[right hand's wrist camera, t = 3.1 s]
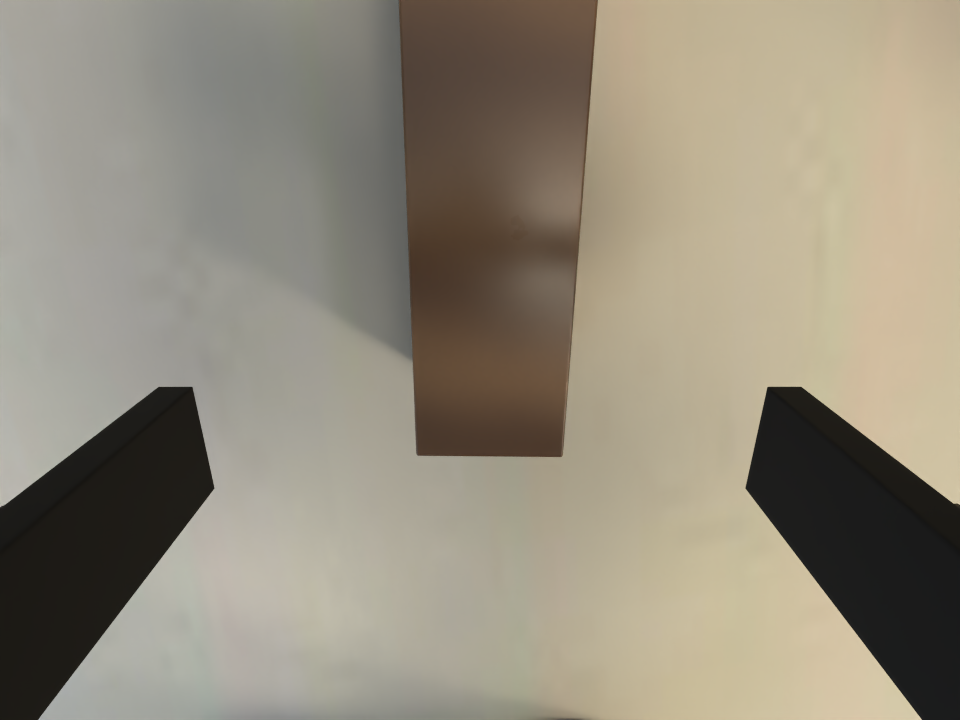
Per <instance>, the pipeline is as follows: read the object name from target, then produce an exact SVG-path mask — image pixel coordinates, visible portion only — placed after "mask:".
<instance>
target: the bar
mask: <svg viewBox="0 0 960 720" xmlns="http://www.w3.org/2000/svg"><path fill="white" fill-rule="evenodd" d="M597 4H598V0H399V19H400V45H401V70H402V96H403V122H404V148H405V173H406V199H407V225H408V250H409V276H410V302H411V328H412V353H413V379H414V405H415V431H416V454H417V455H418V456H519V457H562V455H563V446H564V433H565V420H566V407H567V394H568V381H569V368H570V355H571V342H572V329H573V316H574V303H575V290H576V277H577V264H578V251H579V238H580V225H581V212H582V199H583V186H584V173H585V160H586V147H587V134H588V121H589V108H590V95H591V82H592V69H593V56H594V43H595V30H596V17H597Z"/></svg>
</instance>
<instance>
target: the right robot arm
mask: <svg viewBox="0 0 960 720" xmlns="http://www.w3.org/2000/svg"><path fill="white" fill-rule="evenodd" d="M213 490H214V484H213V479H212V475H211V470H210V466H209V461H208V456H207V452H206V447H205V443H204V438H203V433H202V429H201V424H200V420H199V415H198V410H197V406H196V401H195V397H194V392H193V387H158V388H157V389H155V390H154V391H153V392H152V393H150V394H149V395H148V396H146V397H145V398H144V399H142V400H141V401H140V402H139V403H137V404H136V405H135V406H133V407H132V408H131V409H129V410H128V411H127V412H126V413H124V414H123V415H122V416H120V417H119V418H118V419H116V420H115V421H114V422H112V423H111V424H110V425H109V426H107V427H106V428H105V429H103V430H102V431H101V432H99V433H98V434H97V435H96V436H94V437H93V438H92V439H90V440H89V441H88V442H86V443H85V444H84V445H83V446H81V447H80V448H79V449H77V450H76V451H75V452H73V453H72V454H71V455H70V456H68V457H67V458H66V459H64V460H63V461H62V462H60V463H59V464H58V465H56V466H55V467H54V468H53V469H51V470H50V471H49V472H47V473H46V474H45V475H43V476H42V477H41V478H40V479H38V480H37V481H36V482H34V483H33V484H32V485H30V486H29V487H28V488H27V489H25V490H24V491H23V492H21V493H20V494H19V495H17V496H16V497H15V498H13V499H12V500H11V501H10V502H8V503H7V504H6V505H4V506H2V507H0V720H38V719H39V718H40V716H41V715H42V714H43V712H44V711H45V710H46V708H47V707H48V706H49V704H50V703H51V702H52V701H53V699H54V698H55V697H56V695H57V694H58V693H59V691H60V690H61V689H62V687H63V686H64V685H65V683H66V682H67V681H68V680H69V678H70V677H71V676H72V674H73V673H74V672H75V670H76V669H77V668H78V666H79V665H80V664H81V663H82V661H83V660H84V659H85V657H86V656H87V655H88V653H89V652H90V651H91V649H92V648H93V647H94V645H95V644H96V643H97V642H98V640H99V639H100V638H101V636H102V635H103V634H104V632H105V631H106V630H107V628H108V627H109V626H110V625H111V623H112V622H113V621H114V619H115V618H116V617H117V615H118V614H119V613H120V611H121V610H122V609H123V607H124V606H125V605H126V604H127V602H128V601H129V600H130V598H131V597H132V596H133V594H134V593H135V592H136V590H137V589H138V588H139V587H140V585H141V584H142V583H143V581H144V580H145V579H146V577H147V576H148V575H149V573H150V572H151V571H152V569H153V568H154V567H155V566H156V564H157V563H158V562H159V560H160V559H161V558H162V556H163V555H164V554H165V552H166V551H167V550H168V549H169V547H170V546H171V545H172V543H173V542H174V541H175V539H176V538H177V537H178V535H179V534H180V533H181V531H182V530H183V529H184V528H185V526H186V525H187V524H188V522H189V521H190V520H191V518H192V517H193V516H194V514H195V513H196V512H197V511H198V509H199V508H200V507H201V505H202V504H203V503H204V501H205V500H206V499H207V497H208V496H209V495H210V493H211V492H212V491H213ZM746 490H747V491H748V492H749V493H750V495H751V496H752V497H753V499H754V500H755V501H756V503H757V504H758V505H759V507H760V508H761V509H762V511H763V512H764V513H765V514H766V516H767V517H768V518H769V520H770V521H771V522H772V524H773V525H774V526H775V528H776V529H777V530H778V531H779V533H780V534H781V535H782V537H783V538H784V539H785V541H786V542H787V543H788V545H789V546H790V547H791V549H792V550H793V551H794V552H795V554H796V555H797V556H798V558H799V559H800V560H801V562H802V563H803V564H804V566H805V567H806V568H807V569H808V571H809V572H810V573H811V575H812V576H813V577H814V579H815V580H816V581H817V583H818V584H819V585H820V587H821V588H822V589H823V590H824V592H825V593H826V594H827V596H828V597H829V598H830V600H831V601H832V602H833V604H834V605H835V606H836V607H837V609H838V610H839V611H840V613H841V614H842V615H843V617H844V618H845V619H846V621H847V622H848V623H849V625H850V626H851V627H852V628H853V630H854V631H855V632H856V634H857V635H858V636H859V638H860V639H861V640H862V642H863V643H864V644H865V645H866V647H867V648H868V649H869V651H870V652H871V653H872V655H873V656H874V657H875V659H876V660H877V661H878V663H879V664H880V665H881V666H882V668H883V669H884V670H885V672H886V673H887V674H888V676H889V677H890V678H891V680H892V681H893V682H894V683H895V685H896V686H897V687H898V689H899V690H900V691H901V693H902V694H903V695H904V697H905V698H906V699H907V701H908V702H909V703H910V704H911V706H912V707H913V708H914V710H915V711H916V712H917V714H918V715H919V716H920V718H921V719H922V720H960V505H959V504H953V503H952V502H950V501H949V500H948V499H947V498H945V497H944V496H943V495H941V494H940V493H939V492H937V491H936V490H935V489H933V488H932V487H931V486H930V485H928V484H927V483H926V482H924V481H923V480H922V479H920V478H919V477H918V476H917V475H915V474H914V473H913V472H911V471H910V470H909V469H907V468H906V467H905V466H904V465H902V464H901V463H900V462H898V461H897V460H896V459H894V458H893V457H892V456H890V455H889V454H888V453H887V452H885V451H884V450H883V449H881V448H880V447H879V446H877V445H876V444H875V443H874V442H872V441H871V440H870V439H868V438H867V437H866V436H864V435H863V434H862V433H861V432H859V431H858V430H857V429H855V428H854V427H853V426H851V425H850V424H849V423H848V422H846V421H845V420H844V419H842V418H841V417H840V416H838V415H837V414H836V413H834V412H833V411H832V410H831V409H829V408H828V407H827V406H825V405H824V404H823V403H821V402H820V401H819V400H818V399H816V398H815V397H814V396H812V395H811V394H810V393H808V392H807V391H806V390H805V389H803V388H802V387H767V392H766V397H765V401H764V406H763V410H762V415H761V420H760V424H759V429H758V433H757V438H756V443H755V447H754V452H753V456H752V461H751V466H750V470H749V475H748V479H747V484H746Z"/></svg>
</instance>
